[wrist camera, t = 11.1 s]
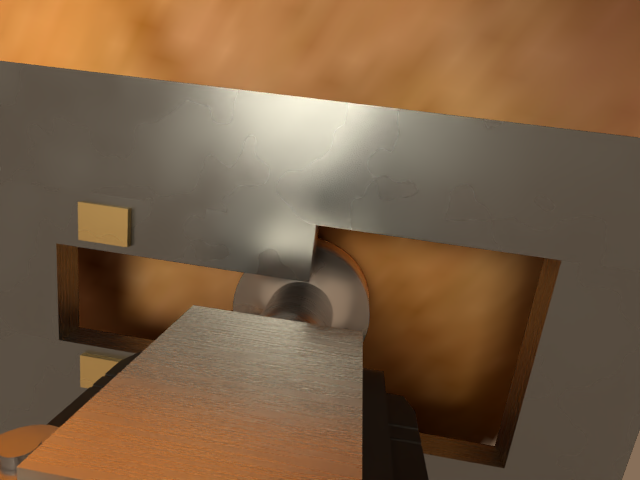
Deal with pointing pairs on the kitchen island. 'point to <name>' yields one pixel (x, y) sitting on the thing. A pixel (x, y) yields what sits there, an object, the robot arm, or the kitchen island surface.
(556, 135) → the keyhole plate
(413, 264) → the kitchen island surface
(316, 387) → the keyhole peg
